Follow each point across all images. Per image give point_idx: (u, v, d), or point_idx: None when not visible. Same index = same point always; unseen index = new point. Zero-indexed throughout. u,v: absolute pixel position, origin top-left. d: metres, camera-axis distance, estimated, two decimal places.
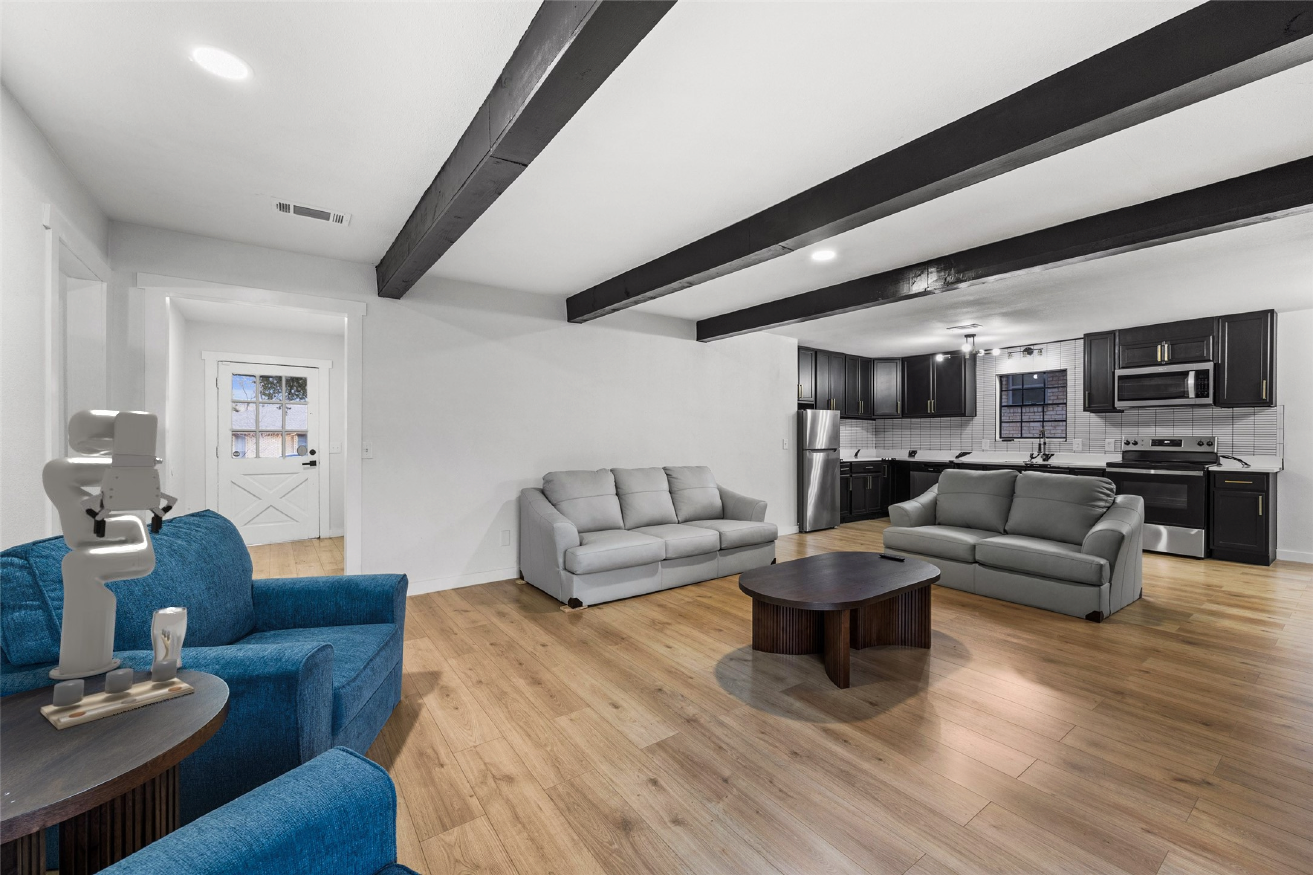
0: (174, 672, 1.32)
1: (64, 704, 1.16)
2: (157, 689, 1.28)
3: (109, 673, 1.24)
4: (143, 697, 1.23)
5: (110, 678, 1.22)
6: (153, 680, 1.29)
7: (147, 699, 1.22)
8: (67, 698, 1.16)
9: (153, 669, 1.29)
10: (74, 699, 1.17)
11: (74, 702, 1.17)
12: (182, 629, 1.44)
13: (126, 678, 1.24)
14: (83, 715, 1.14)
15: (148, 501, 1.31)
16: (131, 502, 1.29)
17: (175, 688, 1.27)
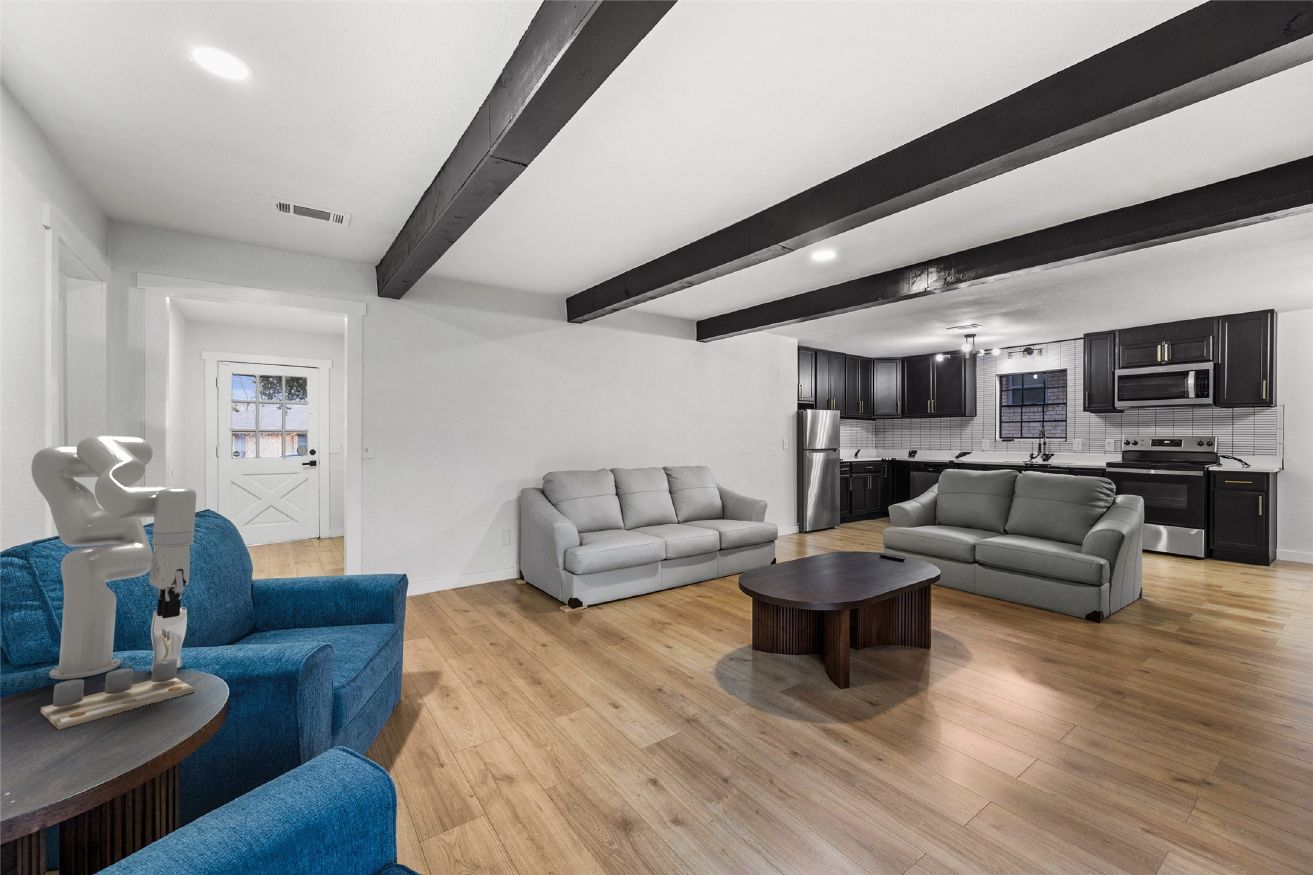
0: (174, 672, 1.32)
1: (64, 704, 1.16)
2: (157, 689, 1.28)
3: (109, 673, 1.24)
4: (143, 697, 1.23)
5: (110, 678, 1.22)
6: (153, 680, 1.29)
7: (147, 699, 1.22)
8: (67, 698, 1.16)
9: (153, 669, 1.29)
10: (74, 699, 1.17)
11: (74, 702, 1.17)
12: (182, 629, 1.44)
13: (126, 678, 1.24)
14: (83, 715, 1.14)
15: None
16: None
17: (175, 688, 1.27)
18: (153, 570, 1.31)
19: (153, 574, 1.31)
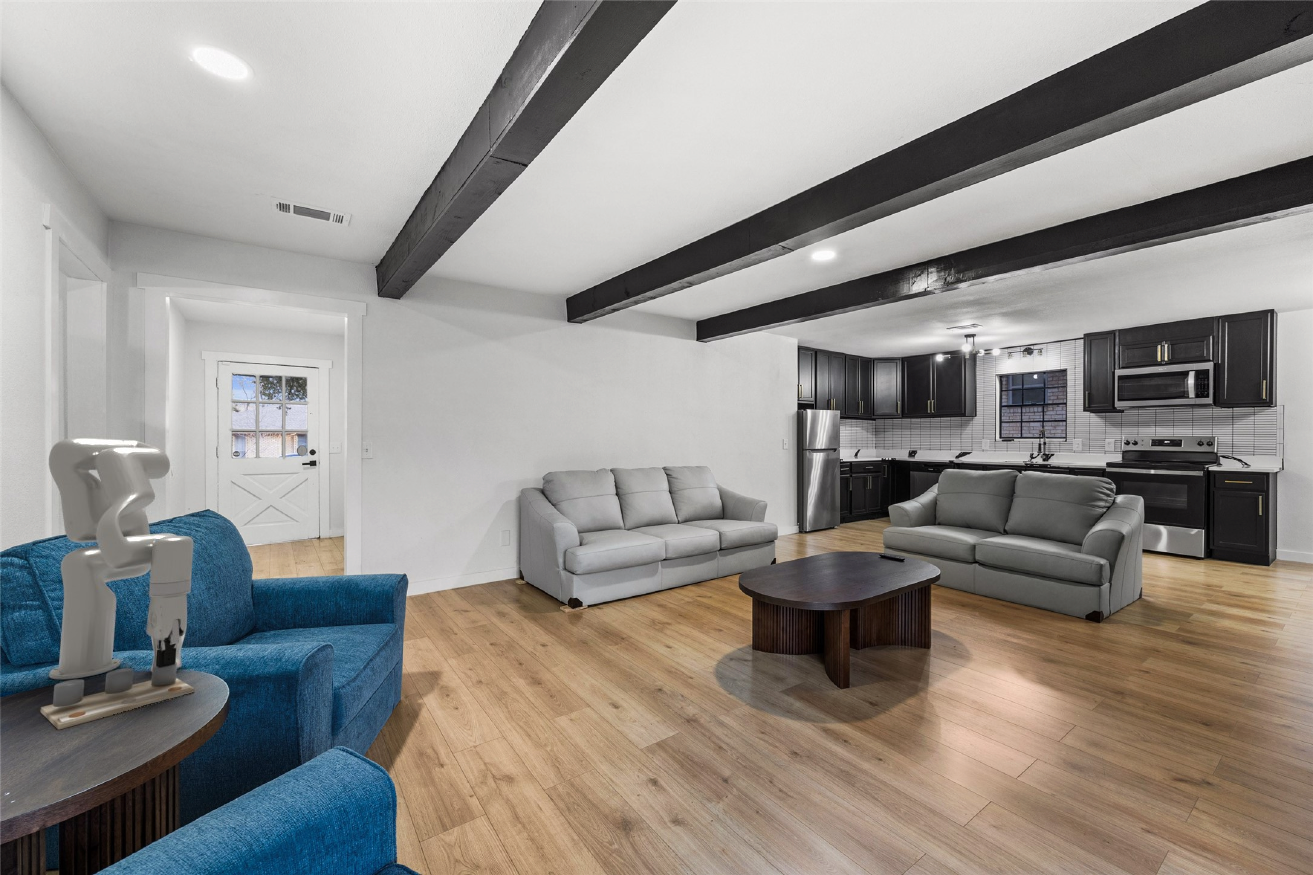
0: (174, 676, 1.31)
1: (64, 704, 1.16)
2: (157, 689, 1.28)
3: (109, 673, 1.24)
4: (143, 697, 1.23)
5: (110, 678, 1.22)
6: (153, 684, 1.29)
7: (147, 699, 1.22)
8: (67, 698, 1.16)
9: (153, 673, 1.29)
10: (74, 699, 1.17)
11: (74, 702, 1.17)
12: None
13: (126, 678, 1.24)
14: (83, 715, 1.14)
15: None
16: None
17: (175, 688, 1.27)
18: (150, 620, 1.31)
19: (150, 624, 1.30)
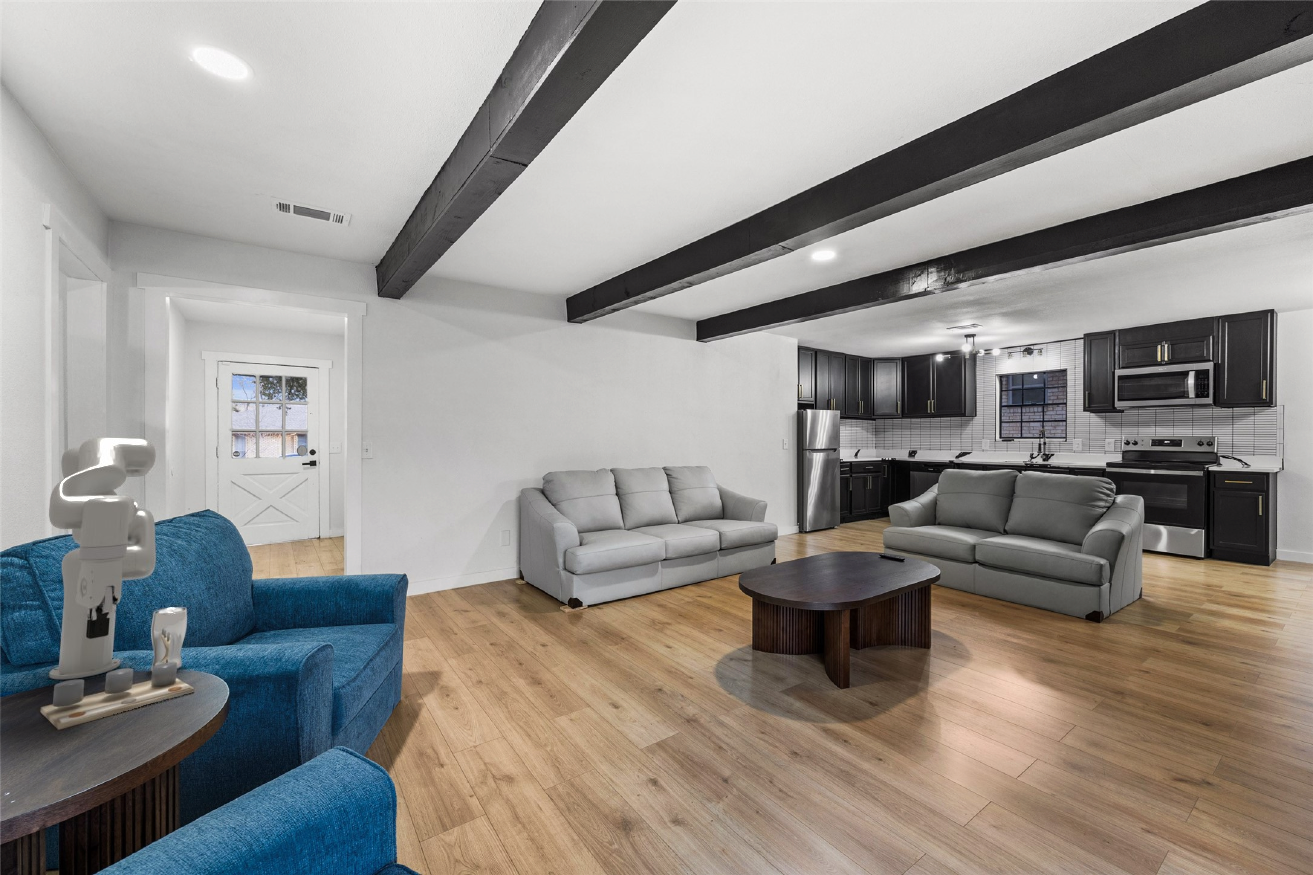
0: (174, 676, 1.31)
1: (64, 704, 1.16)
2: (157, 689, 1.28)
3: (109, 673, 1.24)
4: (143, 697, 1.23)
5: (110, 678, 1.22)
6: (153, 685, 1.29)
7: (147, 699, 1.22)
8: (67, 698, 1.16)
9: (153, 673, 1.29)
10: (74, 699, 1.17)
11: (74, 702, 1.17)
12: (182, 629, 1.44)
13: (126, 678, 1.24)
14: (83, 715, 1.14)
15: None
16: None
17: (175, 688, 1.27)
18: (80, 587, 1.20)
19: (80, 592, 1.20)
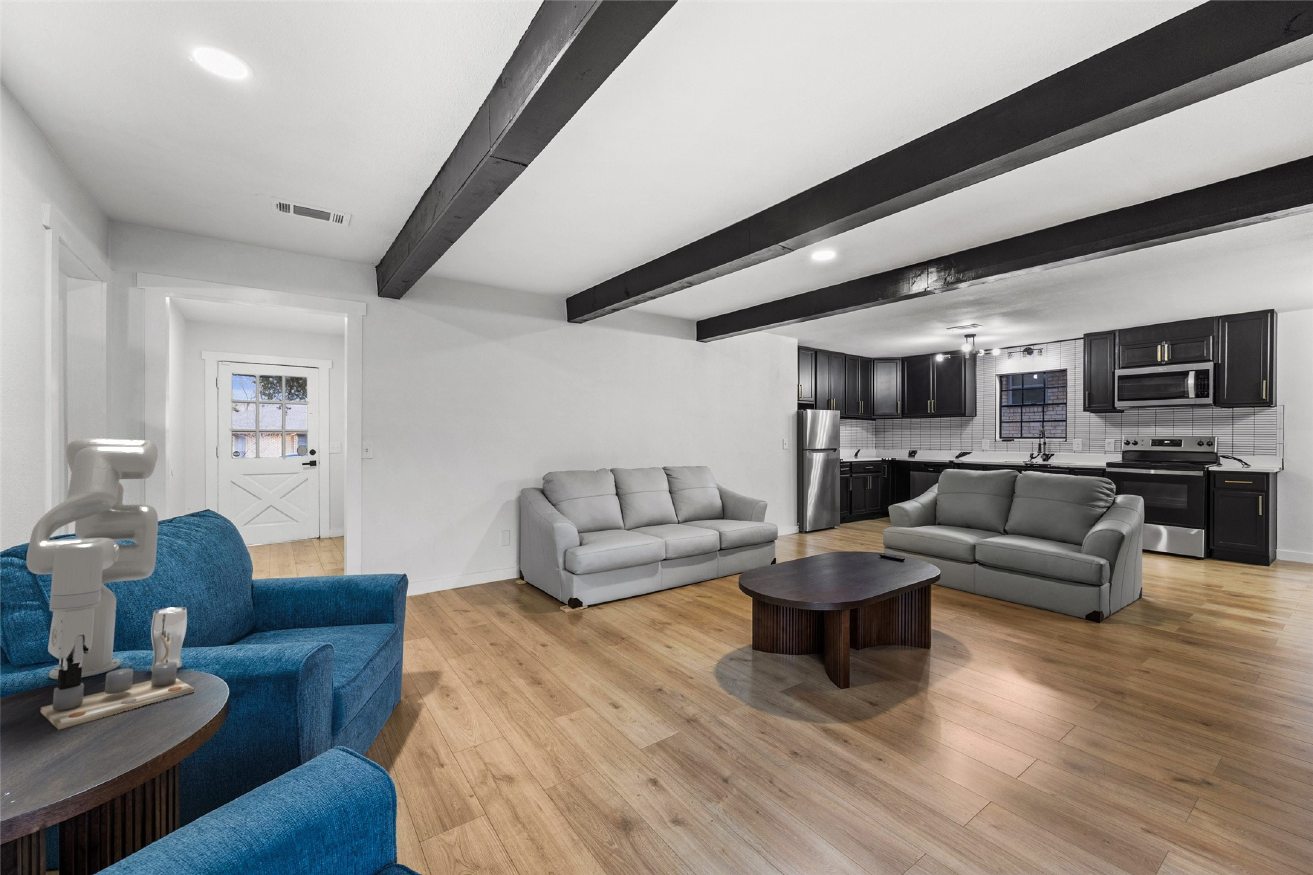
0: (174, 676, 1.31)
1: (64, 707, 1.16)
2: (157, 689, 1.28)
3: (109, 673, 1.24)
4: (143, 697, 1.23)
5: (110, 678, 1.22)
6: (153, 685, 1.29)
7: (147, 699, 1.22)
8: (67, 701, 1.16)
9: (153, 673, 1.29)
10: (74, 702, 1.17)
11: (74, 705, 1.17)
12: (182, 629, 1.44)
13: (126, 678, 1.24)
14: (83, 715, 1.14)
15: None
16: None
17: (175, 688, 1.27)
18: (51, 636, 1.17)
19: (51, 641, 1.17)
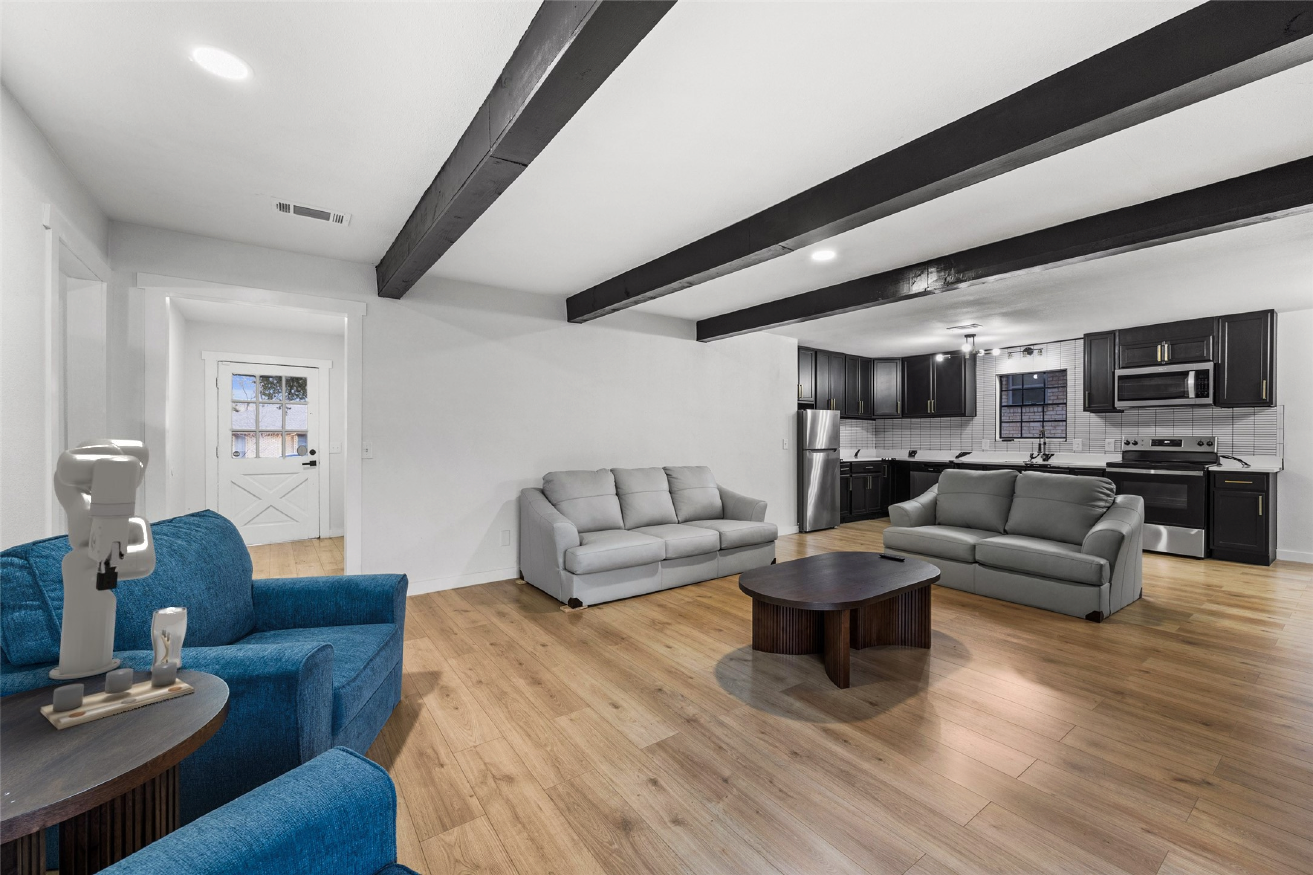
0: (174, 676, 1.31)
1: (64, 709, 1.16)
2: (157, 689, 1.28)
3: (109, 673, 1.24)
4: (143, 697, 1.23)
5: (110, 678, 1.22)
6: (153, 685, 1.29)
7: (147, 699, 1.22)
8: (67, 703, 1.16)
9: (153, 673, 1.29)
10: (74, 704, 1.17)
11: (74, 707, 1.17)
12: (182, 629, 1.44)
13: (126, 678, 1.24)
14: (83, 715, 1.14)
15: None
16: None
17: (175, 688, 1.27)
18: (91, 541, 1.26)
19: (90, 546, 1.26)
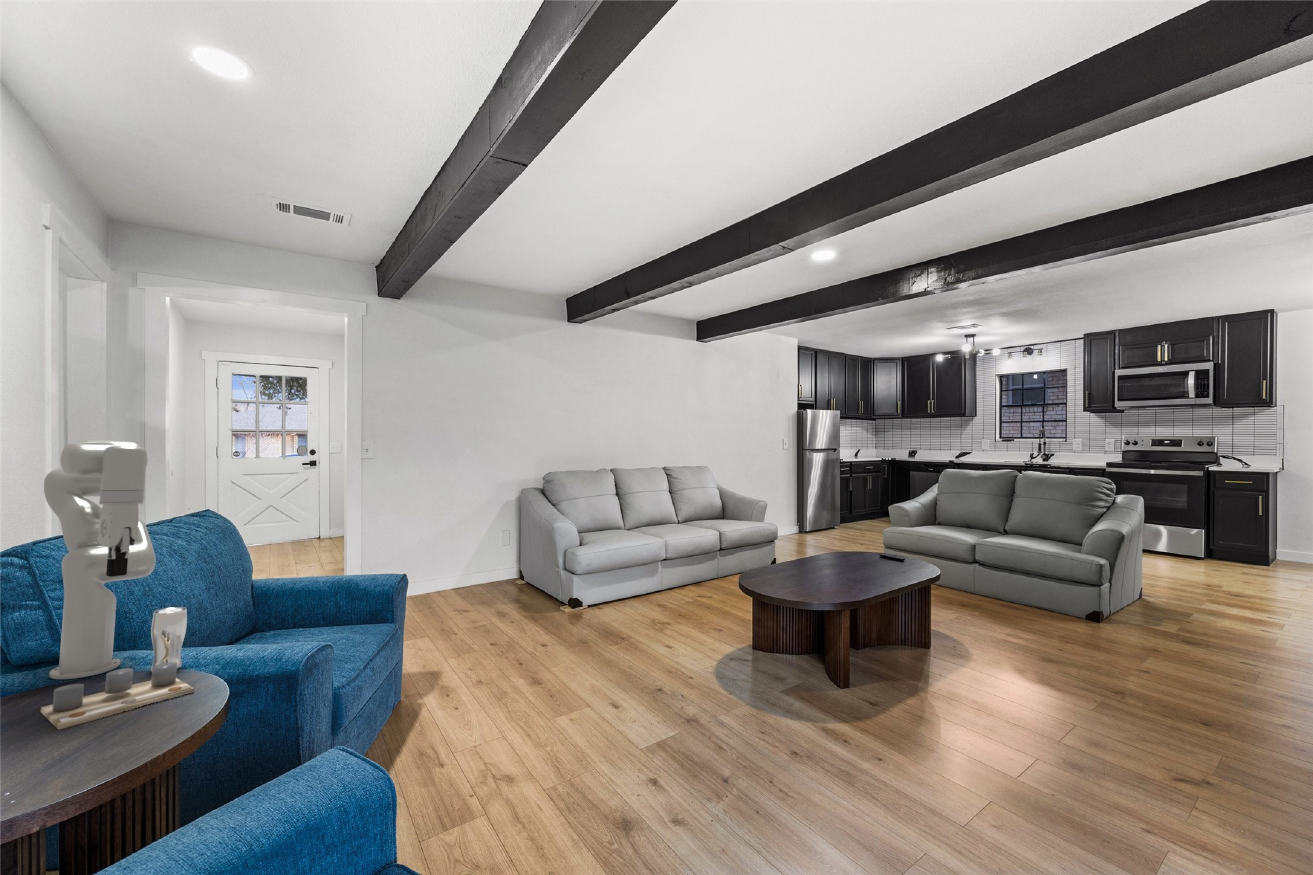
0: (174, 676, 1.31)
1: (64, 709, 1.16)
2: (157, 689, 1.28)
3: (109, 673, 1.24)
4: (143, 697, 1.23)
5: (110, 678, 1.22)
6: (153, 685, 1.29)
7: (147, 699, 1.22)
8: (67, 703, 1.16)
9: (153, 673, 1.29)
10: (74, 704, 1.17)
11: (74, 707, 1.17)
12: (182, 629, 1.44)
13: (126, 678, 1.24)
14: (83, 715, 1.14)
15: None
16: None
17: (175, 688, 1.27)
18: (101, 529, 1.29)
19: (101, 533, 1.28)
